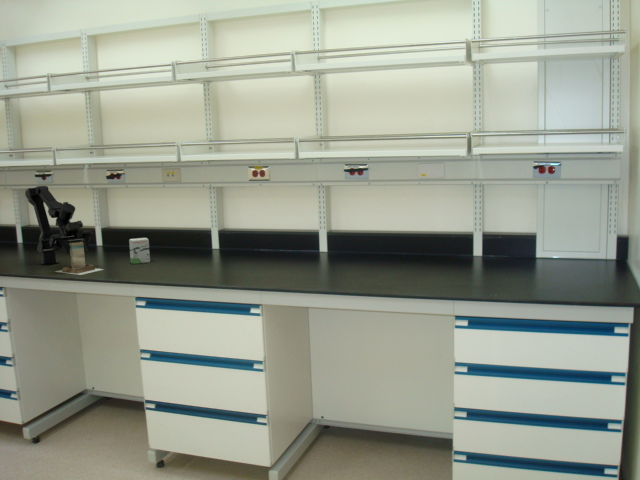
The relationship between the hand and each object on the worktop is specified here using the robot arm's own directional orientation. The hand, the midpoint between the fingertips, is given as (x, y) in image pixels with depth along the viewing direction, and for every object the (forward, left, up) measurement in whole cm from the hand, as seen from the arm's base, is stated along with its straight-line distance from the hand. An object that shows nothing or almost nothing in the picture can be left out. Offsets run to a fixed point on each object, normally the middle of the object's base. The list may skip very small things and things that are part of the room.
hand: (78, 252), depth 268 cm
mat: (-1, +1, -9) cm, 9 cm away
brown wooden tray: (-1, 0, -9) cm, 9 cm away
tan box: (-1, 0, -9) cm, 9 cm away
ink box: (+10, +28, -9) cm, 31 cm away
